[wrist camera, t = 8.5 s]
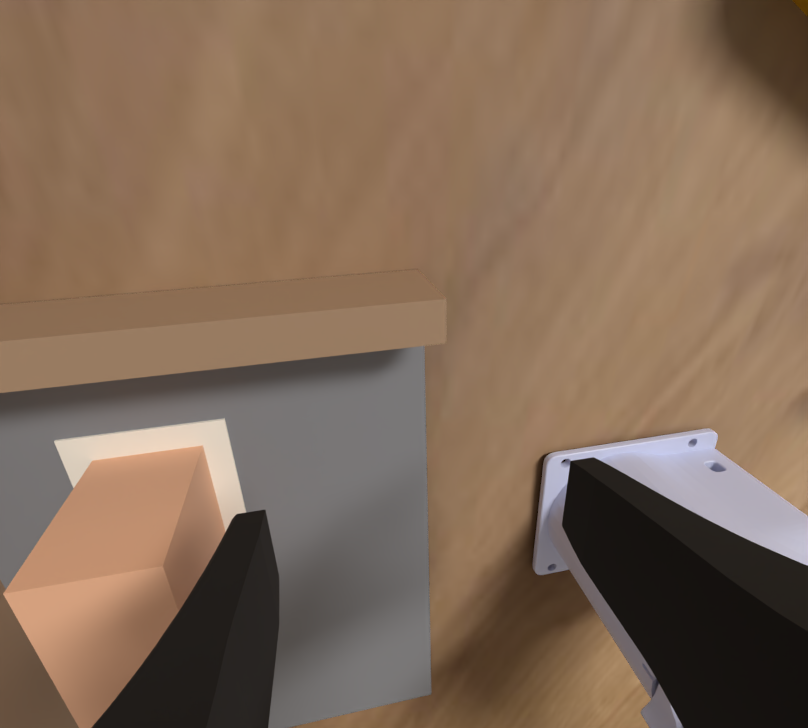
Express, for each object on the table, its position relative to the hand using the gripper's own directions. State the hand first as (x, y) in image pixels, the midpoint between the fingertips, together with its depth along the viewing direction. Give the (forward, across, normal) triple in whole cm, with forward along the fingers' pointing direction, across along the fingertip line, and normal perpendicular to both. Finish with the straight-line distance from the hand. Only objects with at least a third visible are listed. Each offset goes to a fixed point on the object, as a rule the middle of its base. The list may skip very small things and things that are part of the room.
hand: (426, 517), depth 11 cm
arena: (+9, +8, +9) cm, 15 cm away
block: (+8, +9, +6) cm, 14 cm away
